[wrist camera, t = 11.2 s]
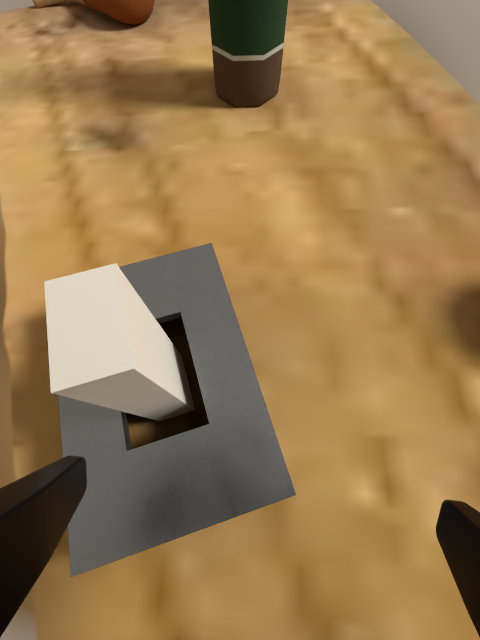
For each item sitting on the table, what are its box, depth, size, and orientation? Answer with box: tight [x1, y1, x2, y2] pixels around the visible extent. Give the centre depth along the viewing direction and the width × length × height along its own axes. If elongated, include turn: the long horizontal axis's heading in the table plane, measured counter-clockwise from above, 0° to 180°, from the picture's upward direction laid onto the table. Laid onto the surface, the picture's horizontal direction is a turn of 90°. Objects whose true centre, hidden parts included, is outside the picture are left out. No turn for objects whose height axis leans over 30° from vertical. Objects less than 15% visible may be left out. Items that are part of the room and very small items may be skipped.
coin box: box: [58, 243, 296, 577], centre depth 19 cm, size 16×11×4 cm
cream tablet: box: [44, 263, 195, 421], centre depth 15 cm, size 4×2×12 cm, turn 17°
